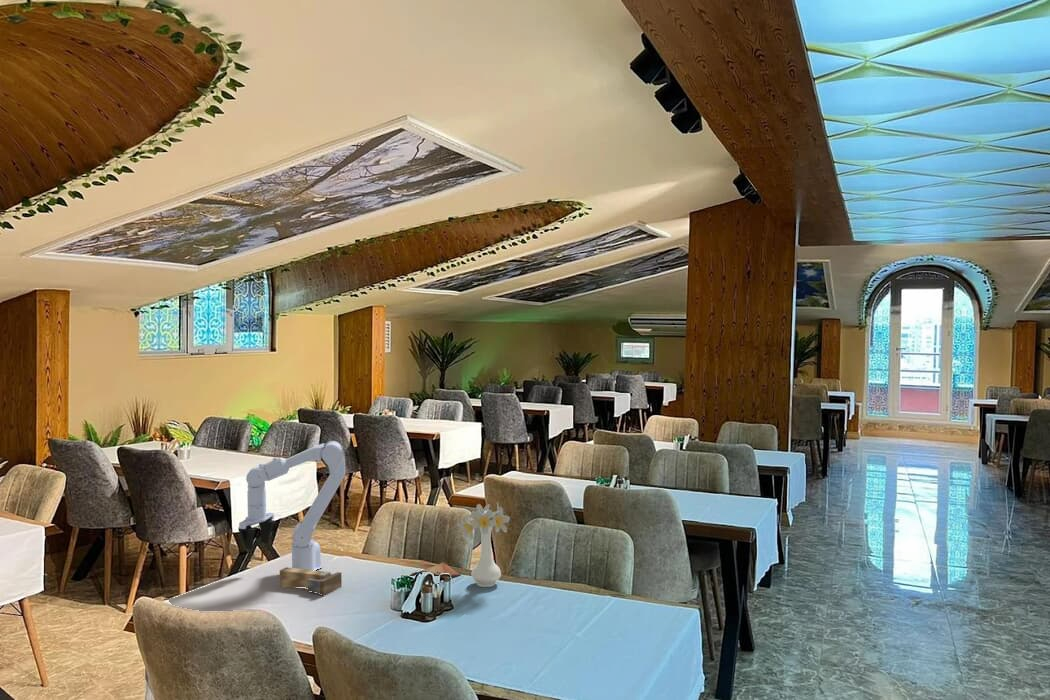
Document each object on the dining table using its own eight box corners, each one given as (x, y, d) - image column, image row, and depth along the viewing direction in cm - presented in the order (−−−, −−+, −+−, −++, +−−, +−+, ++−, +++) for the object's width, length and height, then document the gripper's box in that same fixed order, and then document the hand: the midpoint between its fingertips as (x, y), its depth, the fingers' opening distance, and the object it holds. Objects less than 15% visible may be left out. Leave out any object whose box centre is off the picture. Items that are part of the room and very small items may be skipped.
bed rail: (279, 586, 254) (279, 570, 253) (286, 582, 257) (286, 567, 257) (324, 591, 249) (324, 575, 248) (330, 588, 252) (330, 572, 252)
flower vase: (452, 590, 250) (451, 509, 249) (484, 573, 266) (484, 498, 265) (487, 597, 243) (487, 514, 242) (518, 580, 259) (518, 502, 258)
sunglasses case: (427, 589, 250) (418, 569, 252) (412, 597, 253) (404, 577, 255) (463, 574, 265) (454, 555, 267) (448, 582, 268) (440, 563, 270)
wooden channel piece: (306, 593, 247) (306, 578, 247) (324, 584, 255) (324, 570, 255) (324, 596, 244) (323, 581, 244) (341, 587, 253) (341, 572, 253)
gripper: (262, 498, 273) (262, 538, 274) (231, 508, 260) (231, 550, 260) (279, 500, 270) (279, 540, 271) (248, 510, 257) (249, 552, 257)
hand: (257, 545), depth 265 cm, fingers open, 7 cm apart
